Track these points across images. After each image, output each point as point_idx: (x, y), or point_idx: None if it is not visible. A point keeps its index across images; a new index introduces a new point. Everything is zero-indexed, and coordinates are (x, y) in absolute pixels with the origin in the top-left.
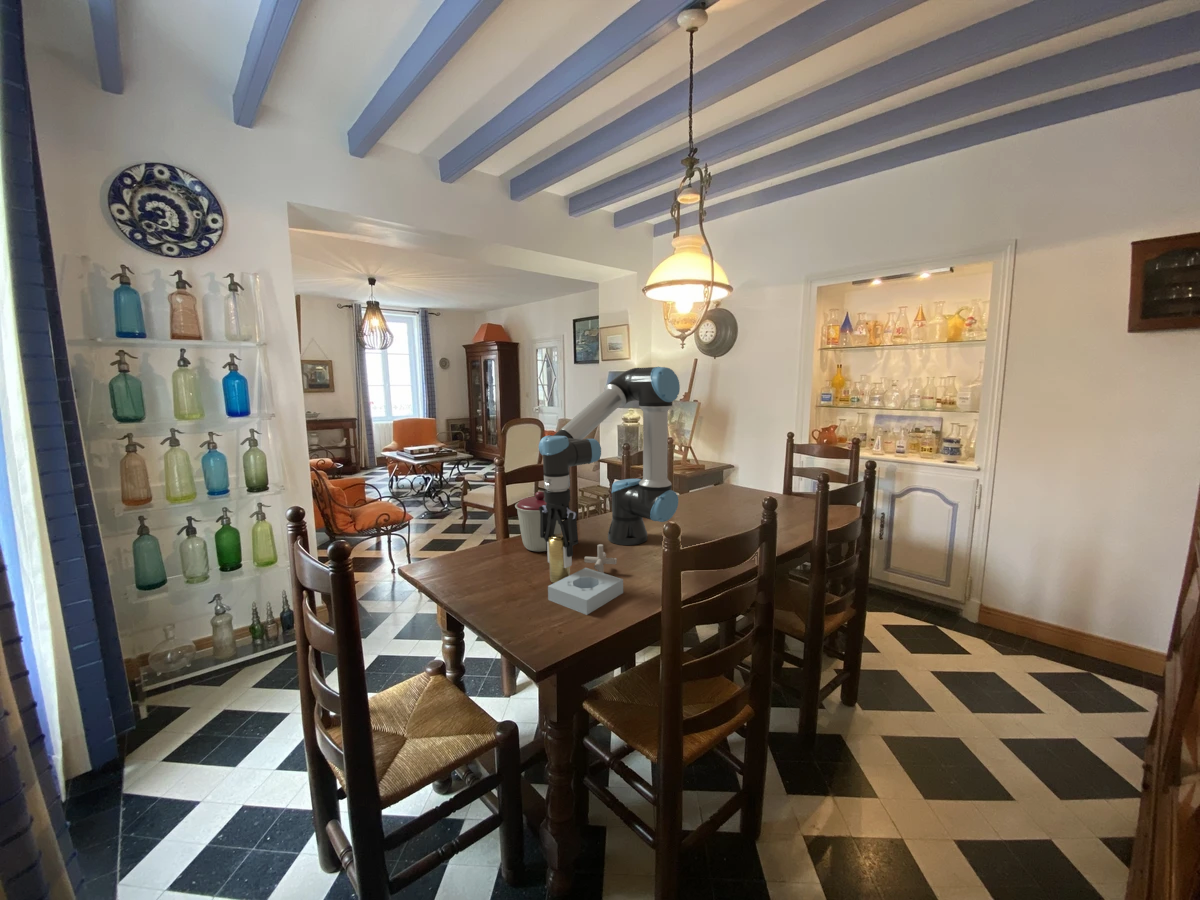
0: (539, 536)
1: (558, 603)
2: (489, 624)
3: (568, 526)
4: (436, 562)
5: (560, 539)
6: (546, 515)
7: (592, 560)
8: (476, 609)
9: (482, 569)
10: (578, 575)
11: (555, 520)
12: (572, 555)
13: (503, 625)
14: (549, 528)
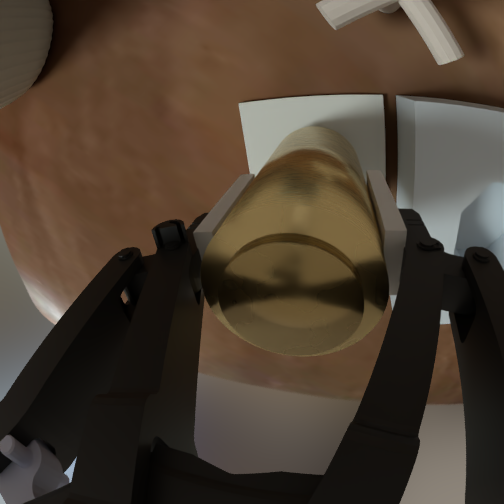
0: (4, 78)
1: None
2: (336, 389)
3: (469, 455)
4: (27, 277)
5: (350, 329)
6: (57, 418)
7: (376, 9)
8: (263, 371)
9: (76, 248)
10: (444, 197)
11: (167, 413)
12: (414, 211)
13: (363, 381)
14: (194, 378)
